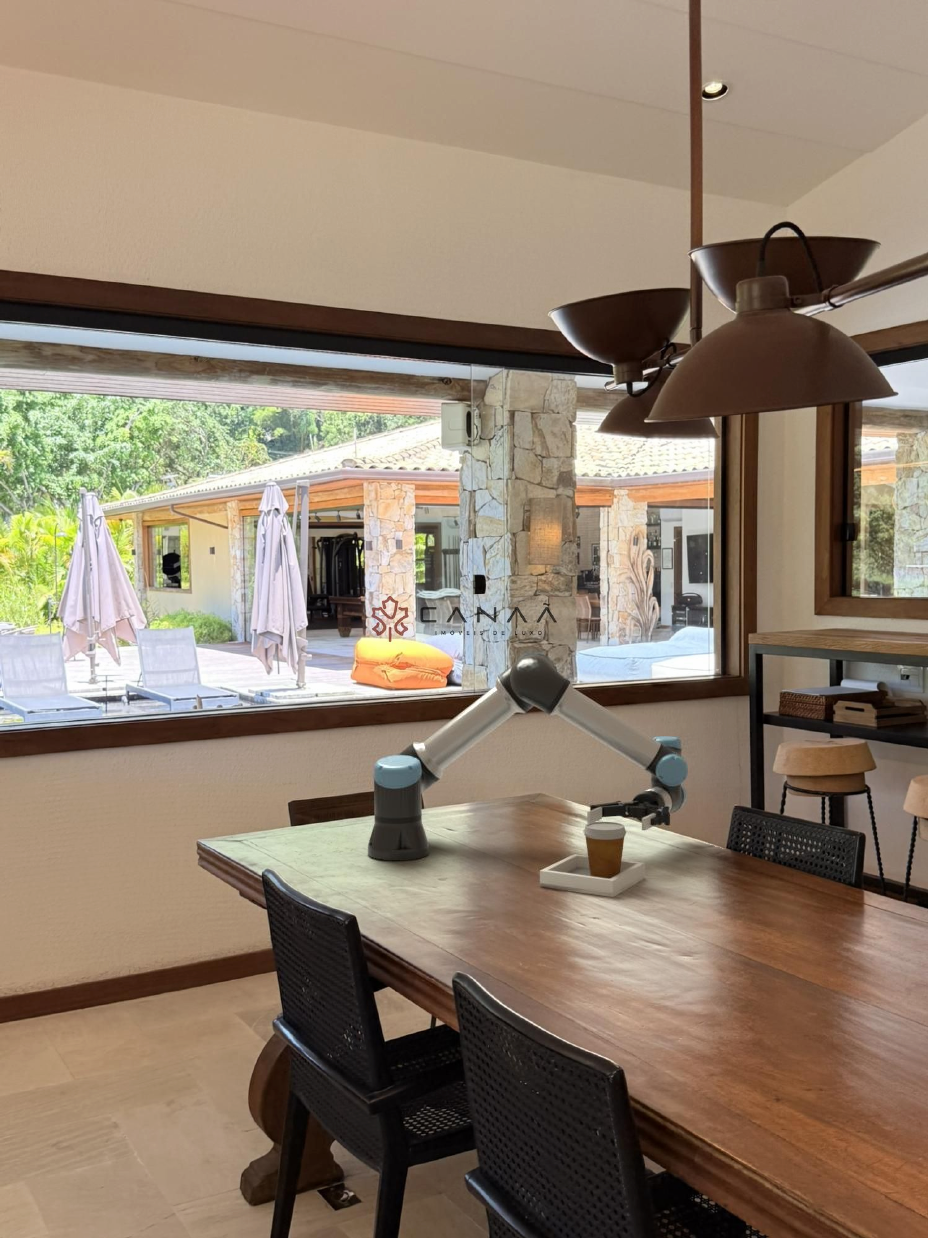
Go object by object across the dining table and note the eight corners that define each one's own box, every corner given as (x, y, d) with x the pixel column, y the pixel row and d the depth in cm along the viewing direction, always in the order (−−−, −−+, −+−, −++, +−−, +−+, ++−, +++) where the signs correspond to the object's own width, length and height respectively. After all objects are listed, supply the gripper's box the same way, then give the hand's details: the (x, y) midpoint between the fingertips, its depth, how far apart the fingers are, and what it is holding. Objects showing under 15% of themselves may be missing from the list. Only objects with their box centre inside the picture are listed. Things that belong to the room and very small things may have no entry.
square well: (539, 886, 254) (539, 870, 254) (574, 869, 269) (574, 854, 269) (612, 897, 245) (612, 881, 245) (644, 878, 260) (644, 863, 260)
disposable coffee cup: (630, 875, 260) (630, 822, 259) (621, 886, 251) (621, 831, 250) (589, 872, 263) (588, 820, 262) (578, 883, 254) (578, 828, 253)
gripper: (699, 826, 279) (666, 843, 260) (604, 815, 292) (566, 831, 273) (699, 795, 278) (666, 810, 260) (604, 785, 291) (567, 799, 273)
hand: (615, 821), depth 267 cm, fingers open, 13 cm apart
